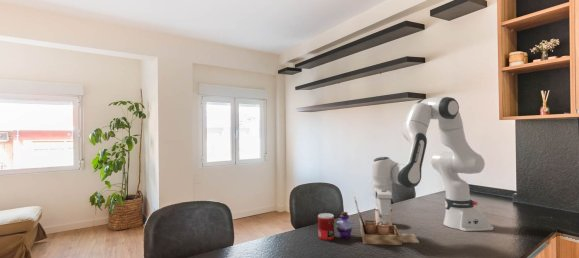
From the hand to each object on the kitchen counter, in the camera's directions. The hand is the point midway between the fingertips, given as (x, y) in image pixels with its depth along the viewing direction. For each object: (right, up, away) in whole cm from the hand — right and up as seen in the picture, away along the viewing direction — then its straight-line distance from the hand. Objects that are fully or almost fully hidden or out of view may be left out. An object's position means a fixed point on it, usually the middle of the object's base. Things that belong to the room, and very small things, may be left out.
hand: (382, 220), depth 138 cm
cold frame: (-2, -9, +1) cm, 9 cm away
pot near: (+1, -8, 0) cm, 8 cm away
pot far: (-4, -8, +5) cm, 11 cm away
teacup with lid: (+7, -9, +22) cm, 25 cm away
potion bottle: (-17, -10, +4) cm, 20 cm away
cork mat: (+12, -9, -1) cm, 15 cm away
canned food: (-26, -10, +3) cm, 28 cm away
